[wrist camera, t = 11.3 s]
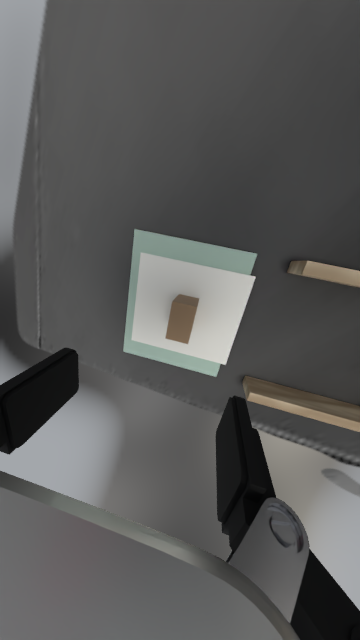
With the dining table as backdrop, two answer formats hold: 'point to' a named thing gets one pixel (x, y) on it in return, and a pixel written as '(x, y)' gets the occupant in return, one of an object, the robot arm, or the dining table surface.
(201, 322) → the cover plate
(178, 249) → the sage mat
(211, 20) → the dining table surface
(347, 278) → the open-sided wooden frame
